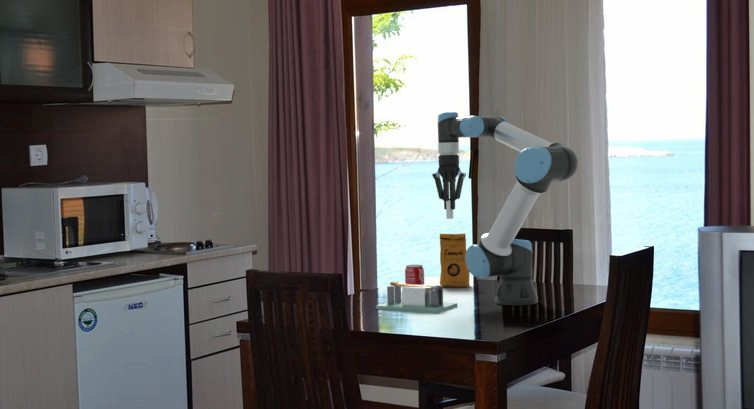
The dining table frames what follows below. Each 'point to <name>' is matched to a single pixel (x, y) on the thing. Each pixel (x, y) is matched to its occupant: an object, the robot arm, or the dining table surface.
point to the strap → (406, 285)
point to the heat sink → (416, 296)
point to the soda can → (414, 274)
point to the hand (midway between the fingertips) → (449, 218)
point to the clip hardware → (396, 293)
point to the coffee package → (453, 261)
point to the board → (398, 307)
